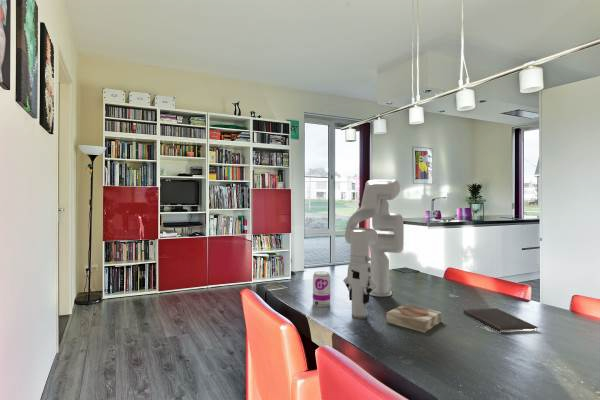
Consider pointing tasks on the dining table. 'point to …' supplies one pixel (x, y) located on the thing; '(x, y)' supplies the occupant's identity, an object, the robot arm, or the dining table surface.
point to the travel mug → (358, 298)
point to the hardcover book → (498, 319)
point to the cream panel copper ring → (414, 317)
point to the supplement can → (321, 289)
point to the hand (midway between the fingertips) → (358, 300)
